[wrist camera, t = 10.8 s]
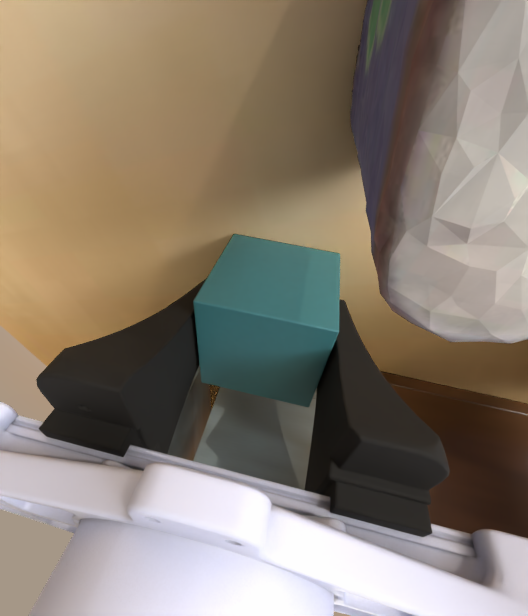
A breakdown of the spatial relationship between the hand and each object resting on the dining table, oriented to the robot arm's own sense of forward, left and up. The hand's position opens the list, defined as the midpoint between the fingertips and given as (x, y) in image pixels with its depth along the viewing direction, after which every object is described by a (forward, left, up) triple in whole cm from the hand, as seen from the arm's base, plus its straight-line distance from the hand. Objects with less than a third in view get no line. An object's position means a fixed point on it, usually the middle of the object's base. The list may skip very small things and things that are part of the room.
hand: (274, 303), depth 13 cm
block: (0, 0, -1) cm, 1 cm away
